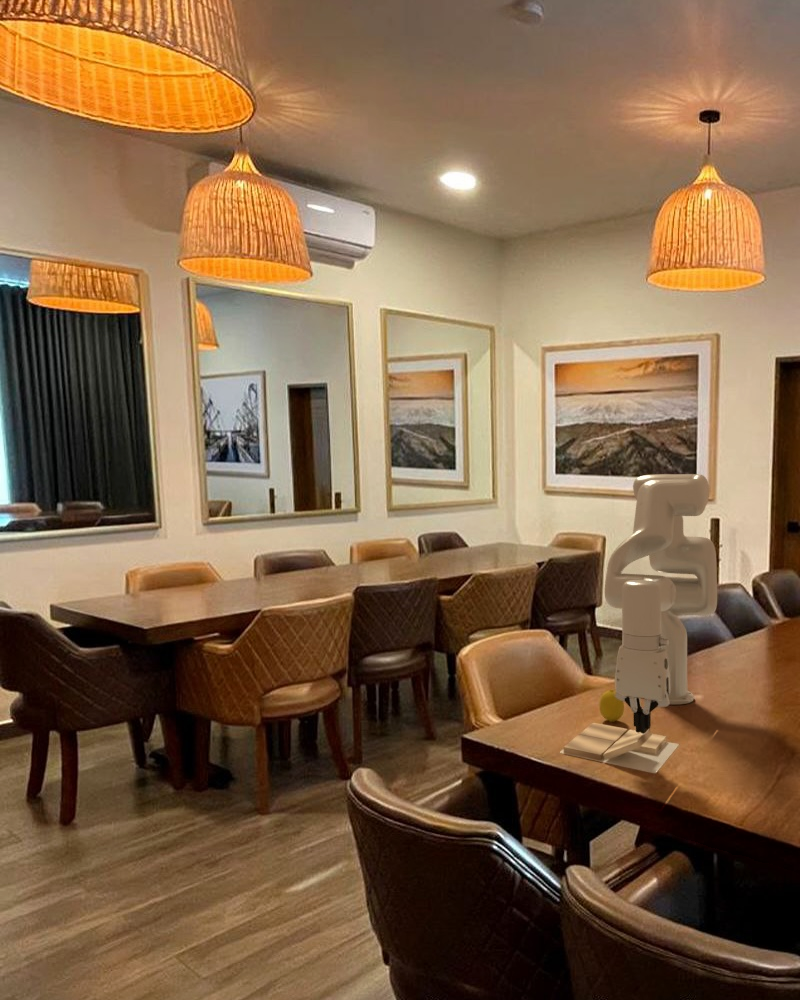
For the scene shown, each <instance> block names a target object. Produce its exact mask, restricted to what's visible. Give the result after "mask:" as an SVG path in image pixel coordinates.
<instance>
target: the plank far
mask: <svg viewBox="0 0 800 1000" xmlns="http://www.w3.org/2000/svg"><path fill="white" fill-rule="evenodd" d="M637 733H638V732H636V729H628V732H627V733H626V734H625V735H623V736H622V737H621V738H620V739H619V740H621V739H624V738H627V737H629V736H632V735H635V734H637ZM639 733H640V732H639ZM619 740H618V741H619ZM666 742H668V741H667V735H662V734H655V733H652V735H651V736H650V737H649V738H648V739H647V741H646V742H645V743H644V744H643V745H642V746H641V747H640V748H638V749H635V751H640V752H645V753H650V754H655V755H656V753H657V752H658V751H659V750H660V749H661V748H662V746H663V745H664V744H665V743H666Z"/></svg>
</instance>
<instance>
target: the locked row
mask: <svg viewBox="0 0 800 1000" xmlns="http://www.w3.org/2000/svg"><path fill="white" fill-rule="evenodd" d="M628 731H629V729H628V728H624V727H618V726H613V725H609V724H603V723H598V722H592V723H591V724H589V725H588V726H587V727H585V729H583V730H582V731H581V732H579V733H578V734H577V735H576V736H574V737H573V739H571V740H570V741H569V742H567V743H566V744H565V745H564V746H563V749H564V753H568V754H573V755H577V756H582V757H587V758H591V759H596V760H600V761H601V760H602V759H603V758H604V756H603V754H604V753H605V752H606V751H607V750H608V749H609V748H610V747H611V746H612V745H613V744H614V743H615V742H616V741H618V740H619V739H620V738H621V737H622V736H623V735H625V734H626V733H627V732H628Z"/></svg>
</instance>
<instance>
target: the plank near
mask: <svg viewBox="0 0 800 1000" xmlns="http://www.w3.org/2000/svg"><path fill="white" fill-rule="evenodd" d="M652 734H653V733H652V732H651V730H650V729H648V730H647V731H646V732H645V733H644V734H643V733H641V732H640V733H637V734H635V735H632V736H629V737H627V738H624V739H621V740H619V741H616V742H615V743H614V744H613V745H612V746H611V747H610V748H609V749H608V750H607V751H606V752H605V753H604V754H603V756H604V758H605V760H607V759H610V758H613V757H616V756H618V755H621V754H624V753H627V752H629V751H632V750H635V749H638V748H640V747H641V746H642V745H643V744H644V743H645V742H646V741H647V739H648V738H649V737H650V736H651V735H652Z"/></svg>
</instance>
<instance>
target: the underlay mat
mask: <svg viewBox="0 0 800 1000" xmlns="http://www.w3.org/2000/svg"><path fill="white" fill-rule="evenodd" d="M679 746H680V744H679V743H676V742H675V743H674V742H669V741H667V742H666V743H665V744H664V745H663V746H662V748H661V749H660V750H659V751H658V752H657V753H656V755H655V754H650V753H645V752H640V751H635V750H632V751H629V752H627V753H624V754H621V755H618V756H616V757H613V758H610V759H607V760H605V758H603V759H602V760H601V761H600V760H596V759H591V758H587V757H582V756H577V755H573V754H568V753H564V748H562V749H561V750H560V752H559V754H561V755H562V754H563V755H567V756H573V757H578V758H581V759H586V760H591V761H596V762H601V763H604V764H609V765H613V766H618V767H623V768H628V769H632V770H636V771H642V772H644V773H645V772H647V773H650V774H654V775H655V774H657V773H658V772H659V770H660V769H662V767H663V765H664V764H665V763H666V762H667V760H668V759H669V758H670V757H671V755H673V753H674V752H675V750H676V749H677V748H678V747H679Z"/></svg>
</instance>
